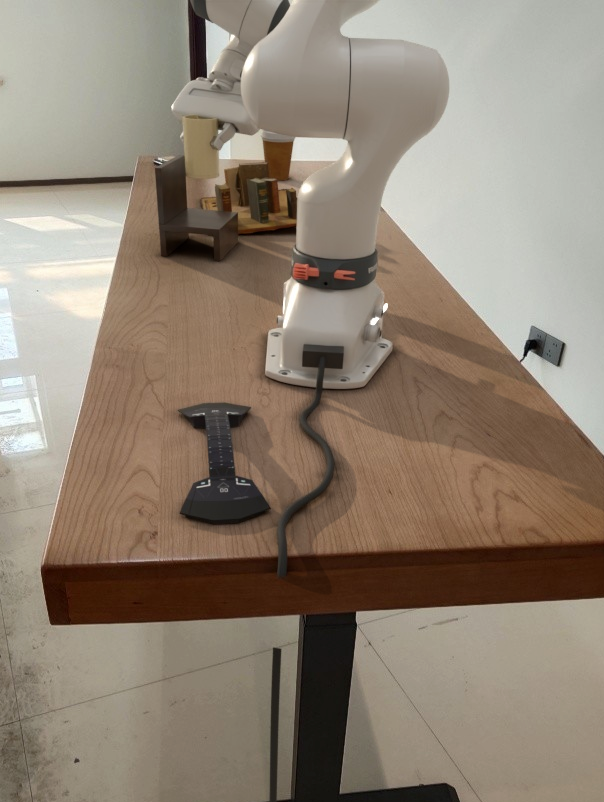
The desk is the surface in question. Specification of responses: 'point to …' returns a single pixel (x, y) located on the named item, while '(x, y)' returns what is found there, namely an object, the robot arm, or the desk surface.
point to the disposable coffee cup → (277, 154)
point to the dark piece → (221, 470)
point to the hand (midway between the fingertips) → (199, 145)
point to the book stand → (254, 199)
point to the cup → (200, 147)
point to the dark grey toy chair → (189, 213)
